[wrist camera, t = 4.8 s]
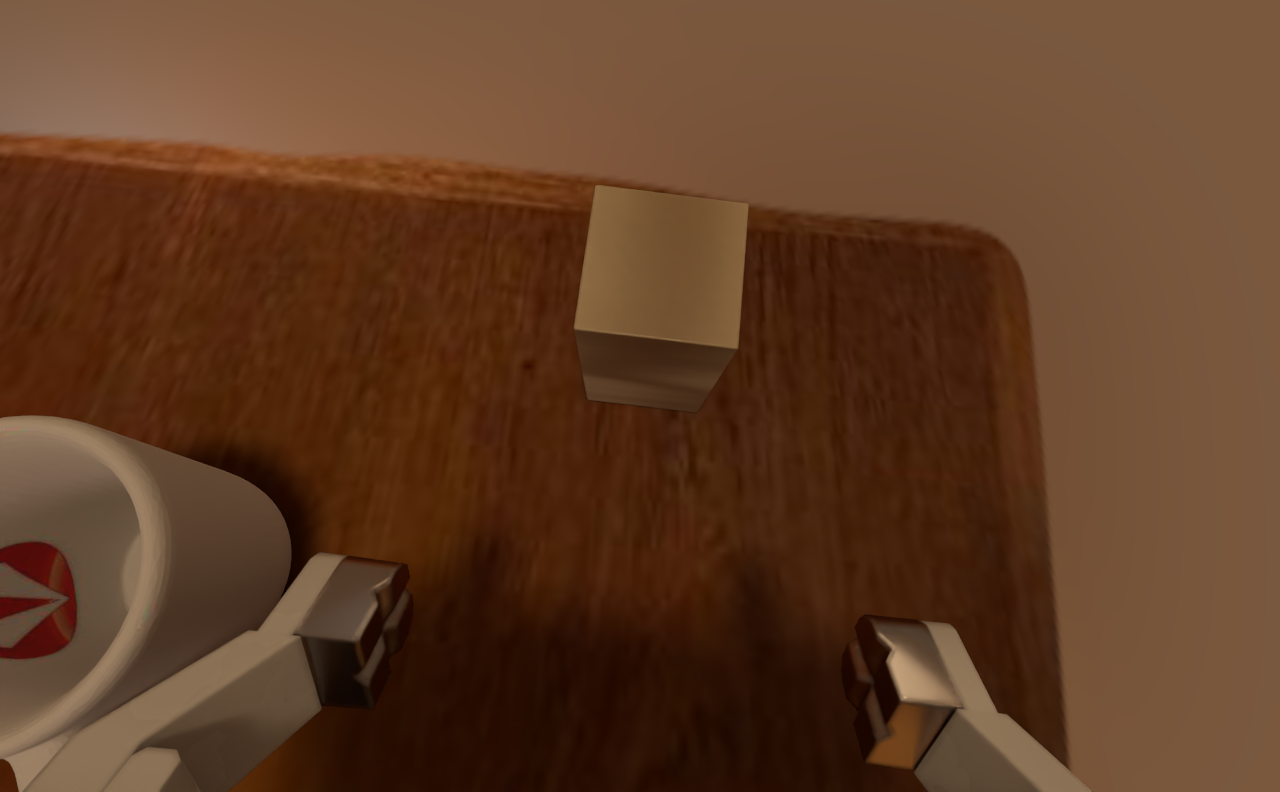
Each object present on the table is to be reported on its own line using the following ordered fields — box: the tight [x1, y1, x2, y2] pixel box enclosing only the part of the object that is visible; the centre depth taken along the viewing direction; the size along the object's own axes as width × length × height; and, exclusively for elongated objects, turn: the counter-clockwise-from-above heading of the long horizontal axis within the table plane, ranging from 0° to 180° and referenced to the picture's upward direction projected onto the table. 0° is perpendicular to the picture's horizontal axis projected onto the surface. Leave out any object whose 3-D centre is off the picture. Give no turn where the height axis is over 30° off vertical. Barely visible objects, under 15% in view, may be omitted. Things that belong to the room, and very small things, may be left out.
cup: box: [0, 416, 291, 792], centre depth 17 cm, size 11×8×8 cm
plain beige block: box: [574, 185, 749, 413], centre depth 20 cm, size 4×4×8 cm
